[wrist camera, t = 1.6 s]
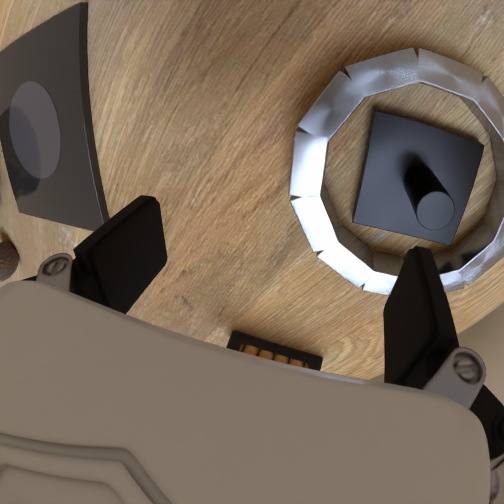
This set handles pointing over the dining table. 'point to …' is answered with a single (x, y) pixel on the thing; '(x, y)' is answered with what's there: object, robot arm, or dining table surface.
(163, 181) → the dining table surface
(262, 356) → the ammunition clip
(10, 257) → the vase
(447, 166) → the ring stand
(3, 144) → the hob plate
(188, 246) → the dining table surface
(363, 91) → the steel ring
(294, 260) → the dining table surface
